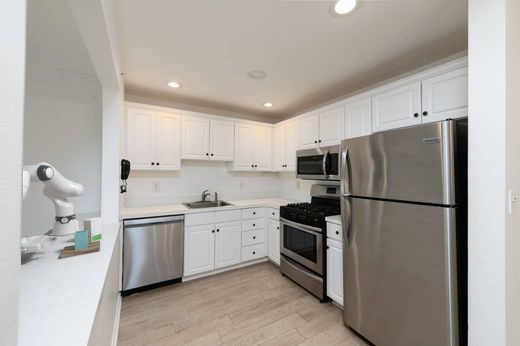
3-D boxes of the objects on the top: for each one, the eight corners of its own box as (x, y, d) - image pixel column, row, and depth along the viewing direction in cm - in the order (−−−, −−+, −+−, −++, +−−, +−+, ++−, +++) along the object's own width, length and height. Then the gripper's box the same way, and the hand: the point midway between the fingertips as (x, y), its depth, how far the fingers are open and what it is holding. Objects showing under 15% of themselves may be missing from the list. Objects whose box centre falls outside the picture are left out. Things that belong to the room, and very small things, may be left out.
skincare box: (91, 243, 150) (90, 220, 149) (83, 242, 151) (82, 220, 150) (102, 239, 158) (101, 217, 157) (94, 238, 159) (93, 217, 159)
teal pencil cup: (76, 247, 138) (75, 231, 138) (88, 245, 142) (87, 229, 142) (75, 250, 134) (74, 233, 133) (87, 248, 137) (86, 232, 137)
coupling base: (64, 249, 140) (64, 234, 140) (100, 242, 150) (99, 228, 150) (60, 258, 125) (59, 242, 125) (99, 251, 136) (98, 235, 135)
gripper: (14, 245, 114) (51, 240, 122) (26, 235, 131) (57, 231, 139) (15, 257, 114) (51, 251, 122) (26, 246, 131) (58, 241, 139)
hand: (55, 240), depth 131 cm, fingers open, 8 cm apart
